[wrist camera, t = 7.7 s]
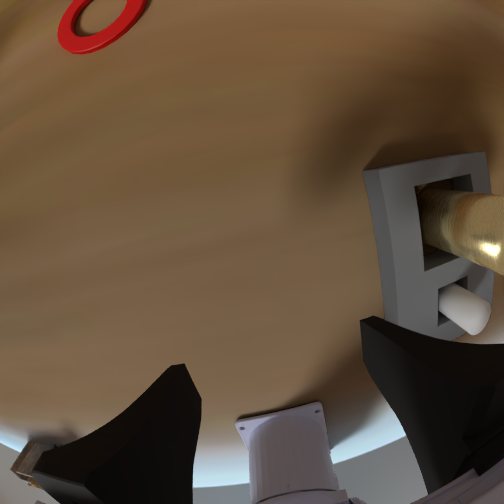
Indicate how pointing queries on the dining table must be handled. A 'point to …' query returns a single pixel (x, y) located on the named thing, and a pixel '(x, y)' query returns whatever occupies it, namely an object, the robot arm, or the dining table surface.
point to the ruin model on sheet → (29, 461)
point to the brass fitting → (464, 225)
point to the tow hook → (103, 38)
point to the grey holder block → (436, 264)
